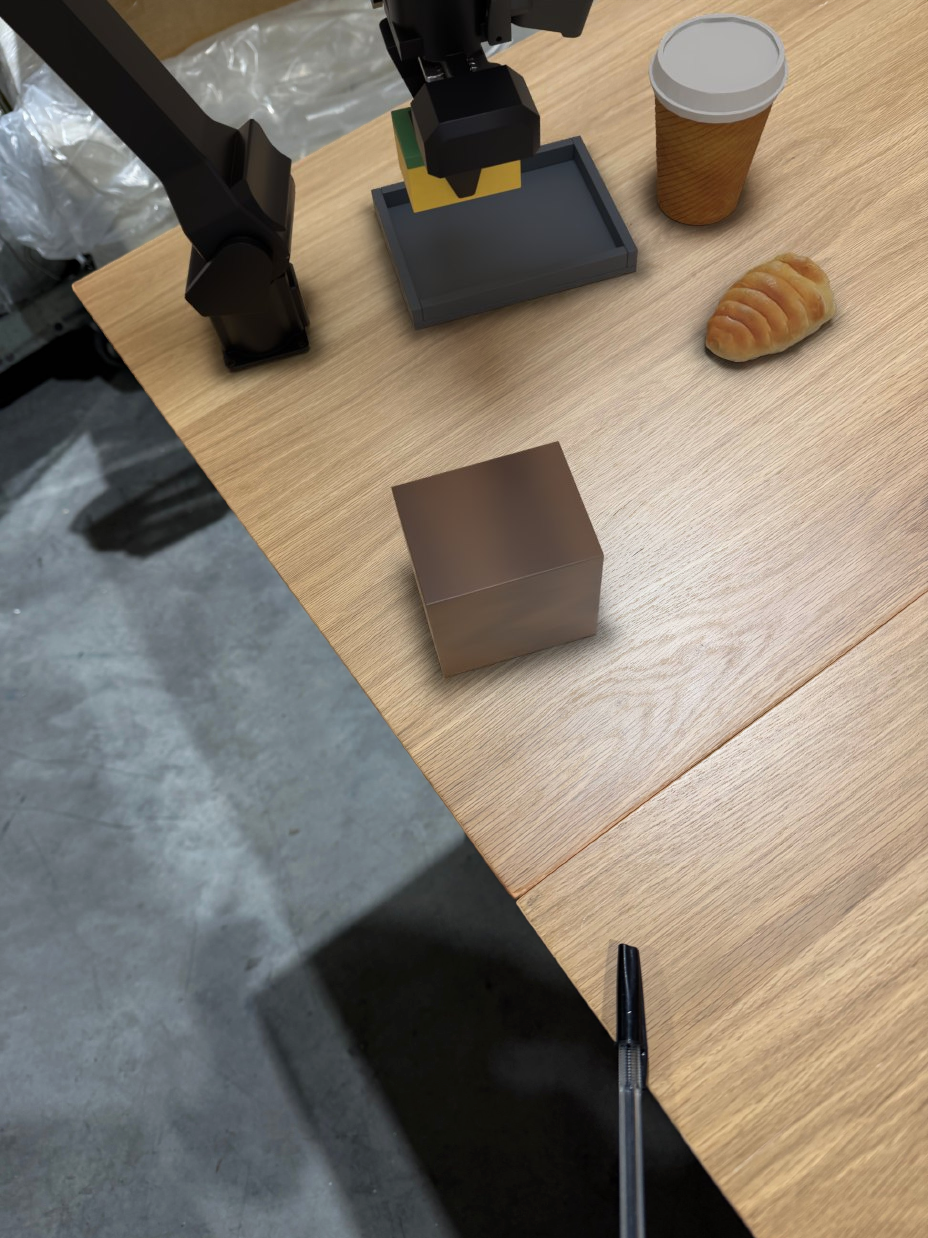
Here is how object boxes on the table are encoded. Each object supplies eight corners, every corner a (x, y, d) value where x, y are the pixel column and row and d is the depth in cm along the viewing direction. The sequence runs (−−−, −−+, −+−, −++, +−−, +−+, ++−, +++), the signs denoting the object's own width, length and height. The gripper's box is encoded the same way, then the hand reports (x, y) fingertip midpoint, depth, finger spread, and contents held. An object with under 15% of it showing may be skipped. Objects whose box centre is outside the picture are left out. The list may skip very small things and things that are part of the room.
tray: (414, 330, 73) (411, 310, 71) (374, 210, 79) (370, 189, 77) (636, 271, 74) (638, 249, 72) (579, 157, 80) (580, 134, 78)
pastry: (747, 388, 68) (757, 351, 65) (679, 335, 71) (685, 296, 67) (839, 319, 70) (853, 279, 67) (769, 270, 73) (780, 229, 69)
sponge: (414, 213, 61) (405, 158, 57) (399, 166, 63) (390, 110, 59) (521, 187, 61) (519, 131, 57) (503, 141, 63) (500, 84, 59)
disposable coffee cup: (778, 178, 77) (815, 30, 66) (725, 256, 74) (755, 113, 63) (670, 142, 80) (689, -6, 69) (615, 216, 76) (625, 72, 66)
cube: (444, 678, 60) (425, 606, 51) (413, 571, 64) (390, 486, 55) (596, 634, 61) (604, 555, 52) (557, 530, 64) (558, 440, 55)
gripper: (648, -30, 44) (624, 242, 58) (537, -225, 52) (540, 54, 66) (409, 25, 43) (443, 285, 57) (336, -181, 51) (382, 91, 65)
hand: (457, 170), depth 61 cm, fingers closed on sponge, 4 cm apart
